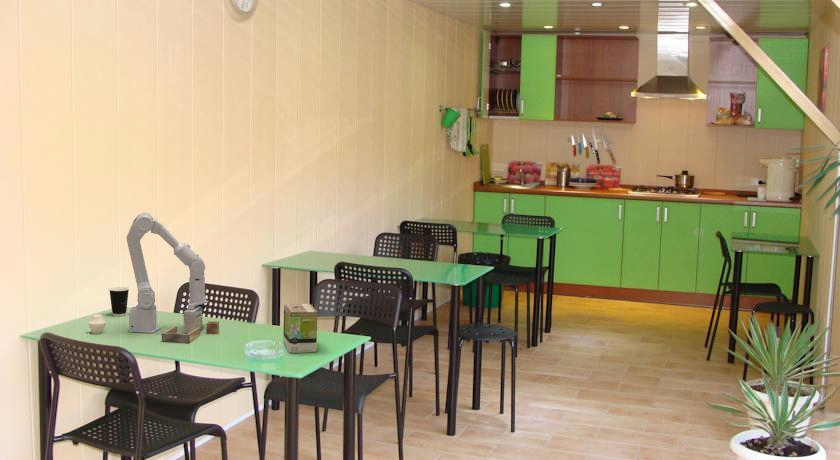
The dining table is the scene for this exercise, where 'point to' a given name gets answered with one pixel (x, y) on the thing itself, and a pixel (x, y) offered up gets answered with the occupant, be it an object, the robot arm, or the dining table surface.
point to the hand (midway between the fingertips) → (197, 324)
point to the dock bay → (179, 335)
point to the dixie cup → (119, 300)
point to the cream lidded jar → (97, 324)
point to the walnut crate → (212, 327)
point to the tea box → (300, 328)
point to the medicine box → (192, 319)
